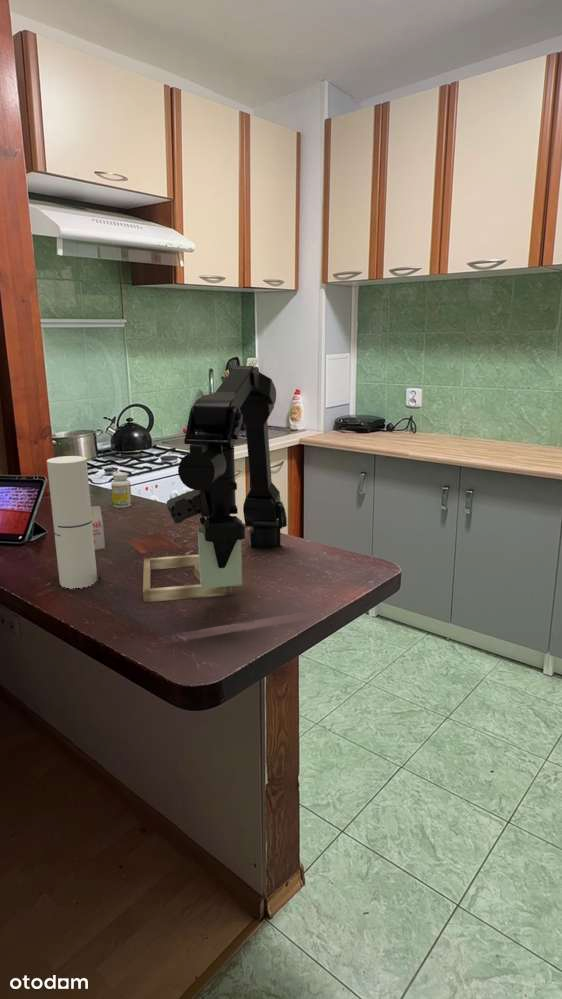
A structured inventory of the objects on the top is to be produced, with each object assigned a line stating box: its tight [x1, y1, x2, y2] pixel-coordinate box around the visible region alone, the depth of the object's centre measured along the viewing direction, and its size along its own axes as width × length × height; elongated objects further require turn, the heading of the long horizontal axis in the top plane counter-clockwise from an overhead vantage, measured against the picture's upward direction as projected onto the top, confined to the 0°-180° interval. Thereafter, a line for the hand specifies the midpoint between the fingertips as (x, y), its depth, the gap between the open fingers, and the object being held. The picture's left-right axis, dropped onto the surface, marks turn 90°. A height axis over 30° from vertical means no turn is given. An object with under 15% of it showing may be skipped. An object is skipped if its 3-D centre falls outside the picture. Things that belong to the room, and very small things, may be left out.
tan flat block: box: [193, 565, 200, 582], centre depth 119 cm, size 5×6×2 cm
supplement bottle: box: [111, 471, 132, 509], centre depth 175 cm, size 5×5×10 cm
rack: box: [142, 554, 233, 603], centre depth 117 cm, size 16×17×6 cm
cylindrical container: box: [46, 455, 98, 590], centre depth 118 cm, size 7×7×25 cm
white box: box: [91, 505, 106, 551], centre depth 139 cm, size 4×7×10 cm, turn 118°
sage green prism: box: [197, 525, 243, 589], centre depth 104 cm, size 7×4×10 cm, turn 102°
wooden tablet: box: [129, 532, 183, 554], centre depth 138 cm, size 27×10×2 cm, turn 28°
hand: (220, 563), depth 104 cm, fingers closed on sage green prism, 3 cm apart
